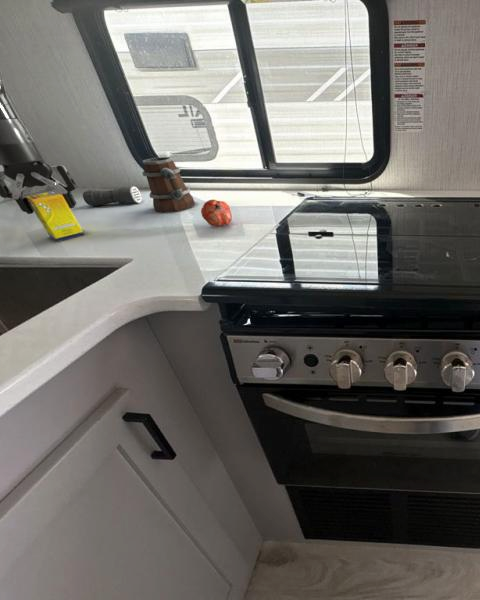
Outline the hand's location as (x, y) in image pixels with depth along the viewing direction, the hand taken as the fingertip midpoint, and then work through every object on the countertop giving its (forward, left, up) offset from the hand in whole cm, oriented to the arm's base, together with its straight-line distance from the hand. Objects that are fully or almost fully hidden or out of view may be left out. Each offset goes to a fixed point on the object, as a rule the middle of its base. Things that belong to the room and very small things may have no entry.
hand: (52, 210), depth 85 cm
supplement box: (0, 0, -7) cm, 7 cm away
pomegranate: (+37, -13, -7) cm, 40 cm away
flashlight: (+7, +31, -7) cm, 33 cm away
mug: (+26, +13, -7) cm, 30 cm away
